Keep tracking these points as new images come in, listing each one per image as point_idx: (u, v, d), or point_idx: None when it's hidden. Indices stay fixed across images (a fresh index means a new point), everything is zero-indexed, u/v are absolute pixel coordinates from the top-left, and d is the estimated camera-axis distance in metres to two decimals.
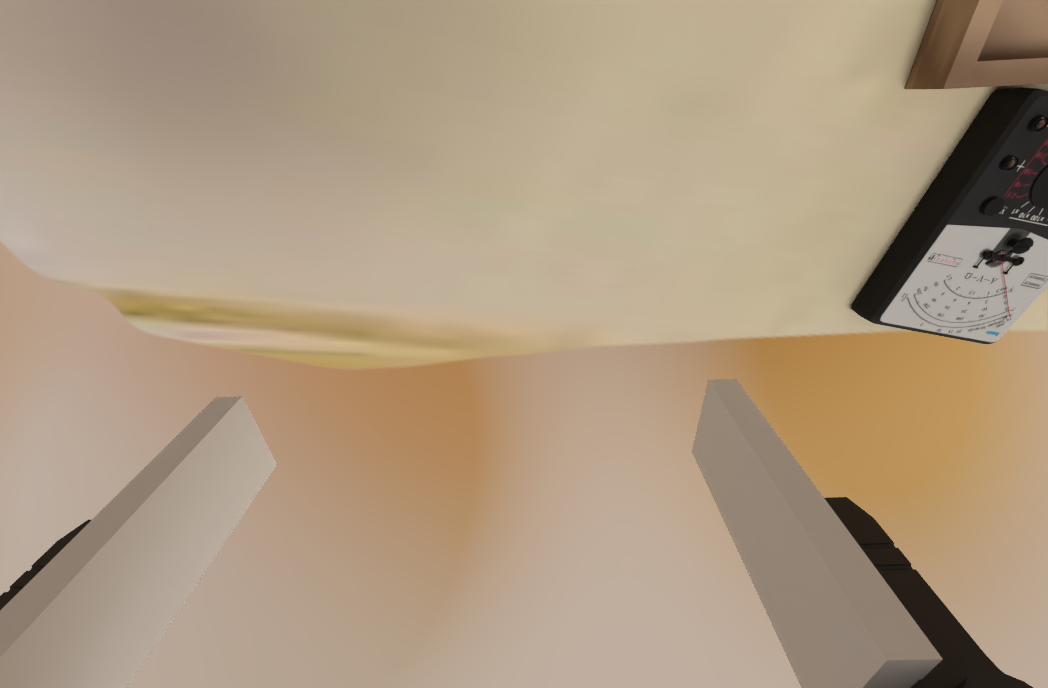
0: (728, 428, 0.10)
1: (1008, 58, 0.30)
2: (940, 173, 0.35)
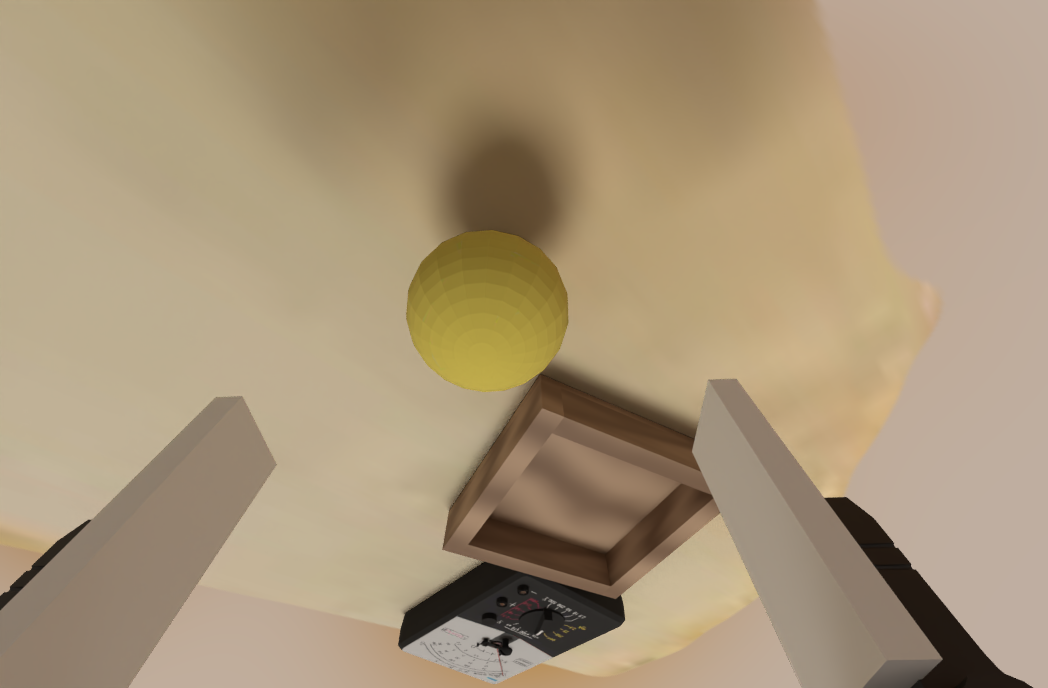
0: (728, 428, 0.10)
1: (523, 528, 0.35)
2: (480, 566, 0.39)
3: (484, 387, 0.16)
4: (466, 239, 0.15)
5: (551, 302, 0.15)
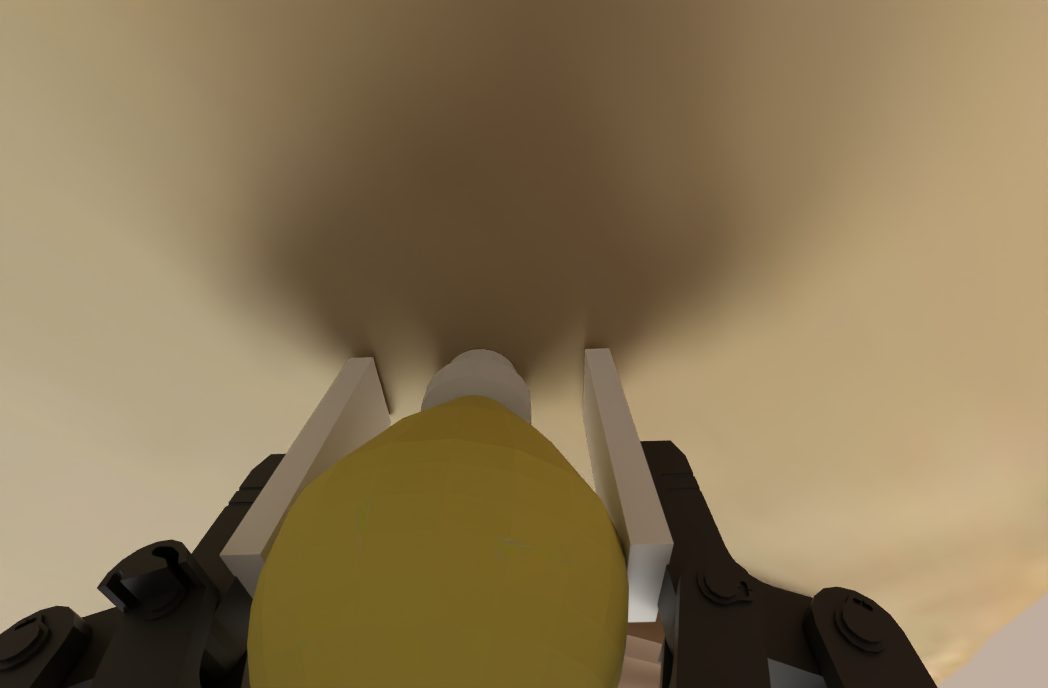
0: (591, 388, 0.12)
1: None
2: None
3: None
4: (384, 486, 0.06)
5: (601, 656, 0.06)
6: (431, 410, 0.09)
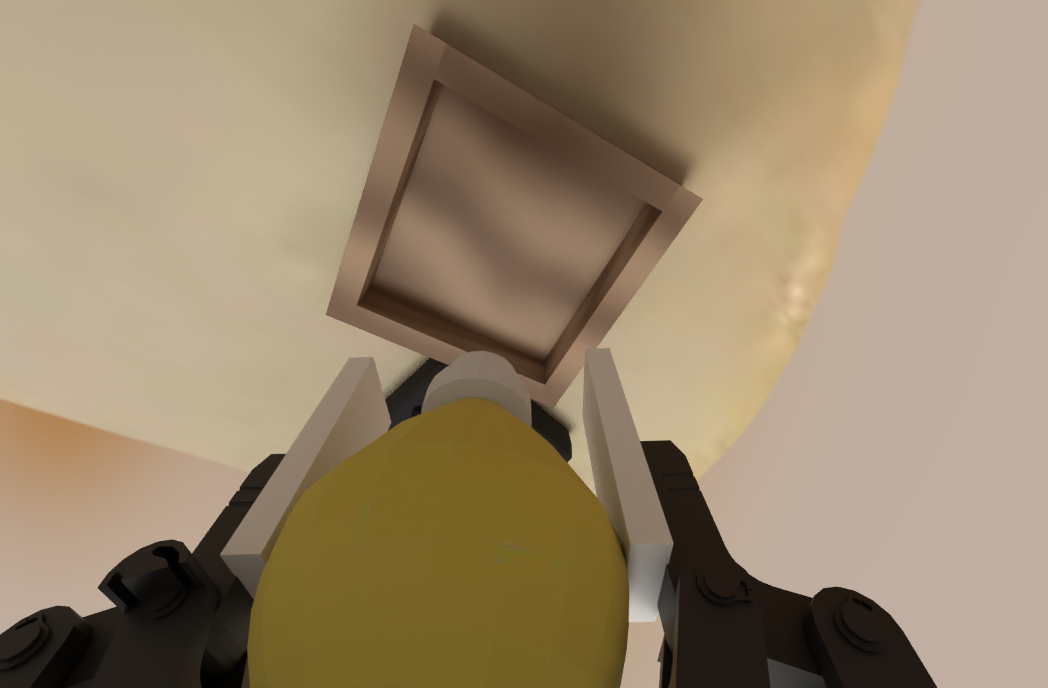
0: (591, 388, 0.12)
1: (438, 314, 0.29)
2: (400, 386, 0.32)
3: None
4: (384, 490, 0.06)
5: (601, 660, 0.06)
6: (431, 413, 0.09)
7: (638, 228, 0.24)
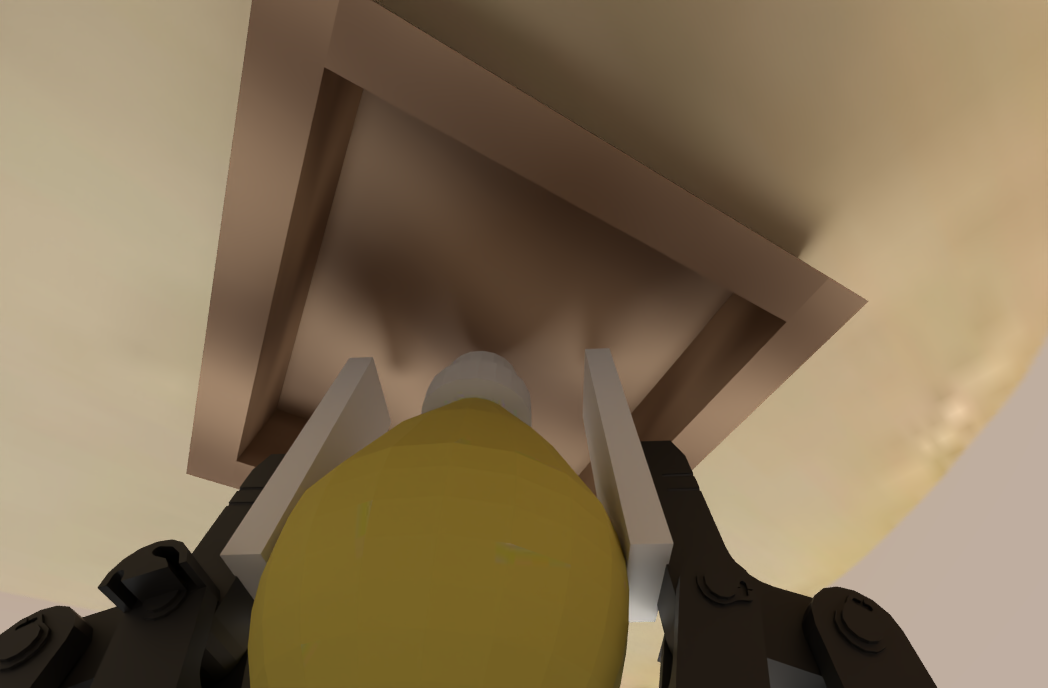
0: (591, 388, 0.12)
1: None
2: None
3: None
4: (384, 490, 0.06)
5: (601, 660, 0.06)
6: (431, 413, 0.09)
7: (725, 335, 0.14)
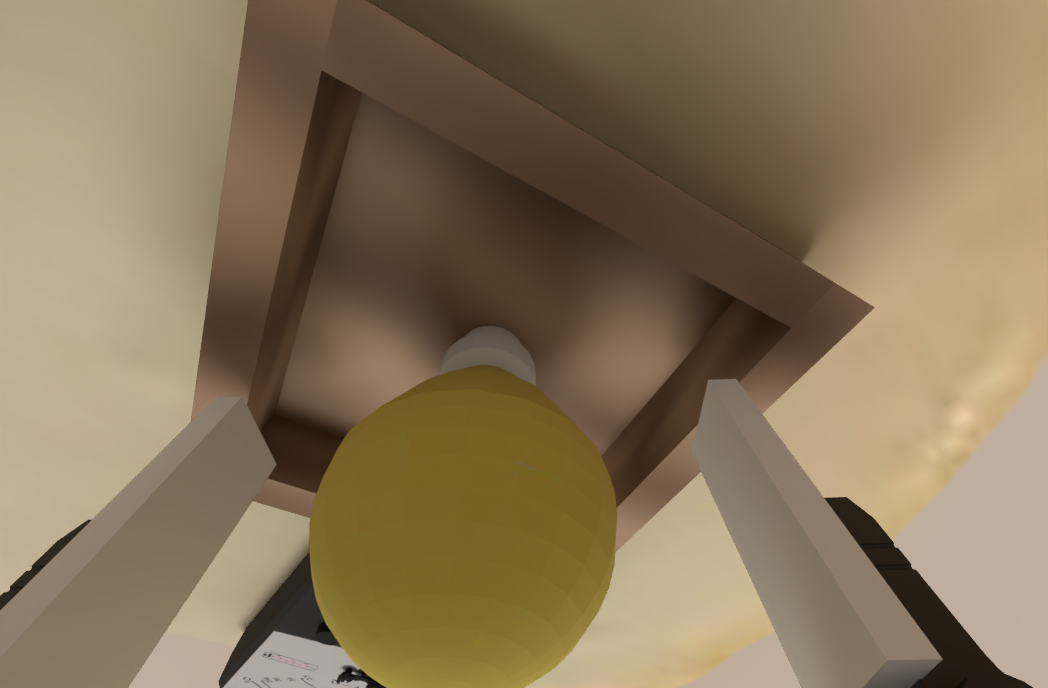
0: (728, 428, 0.10)
1: None
2: None
3: None
4: (420, 422, 0.08)
5: (592, 558, 0.07)
6: (451, 372, 0.10)
7: (729, 340, 0.14)
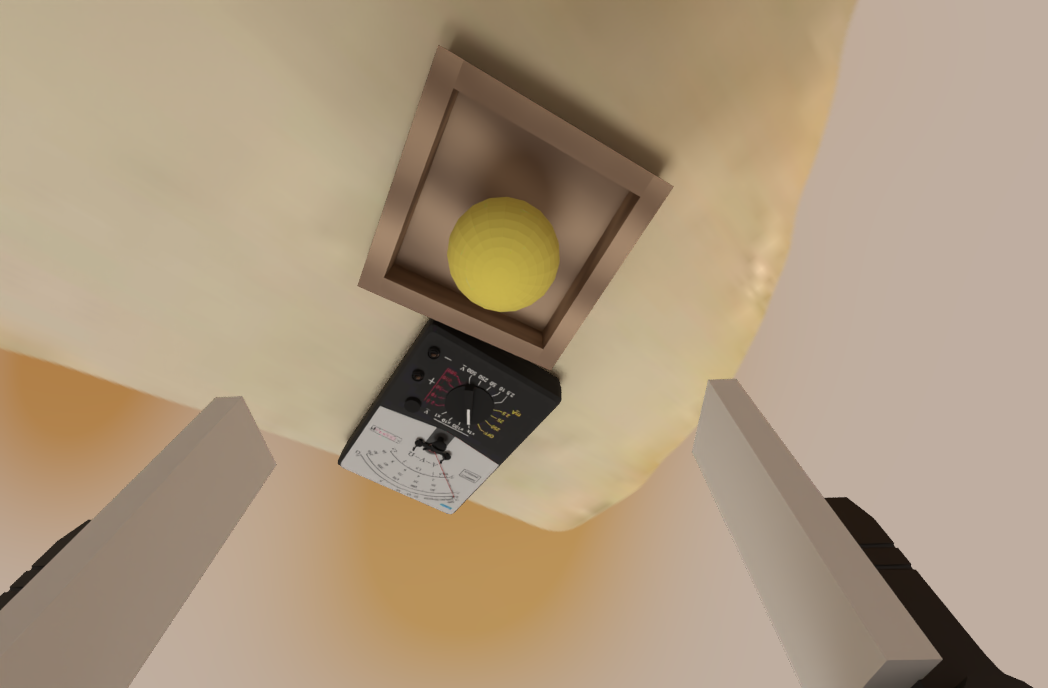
0: (728, 428, 0.10)
1: (451, 288, 0.33)
2: None
3: (500, 303, 0.23)
4: (490, 201, 0.23)
5: (547, 244, 0.23)
6: None
7: (621, 212, 0.29)
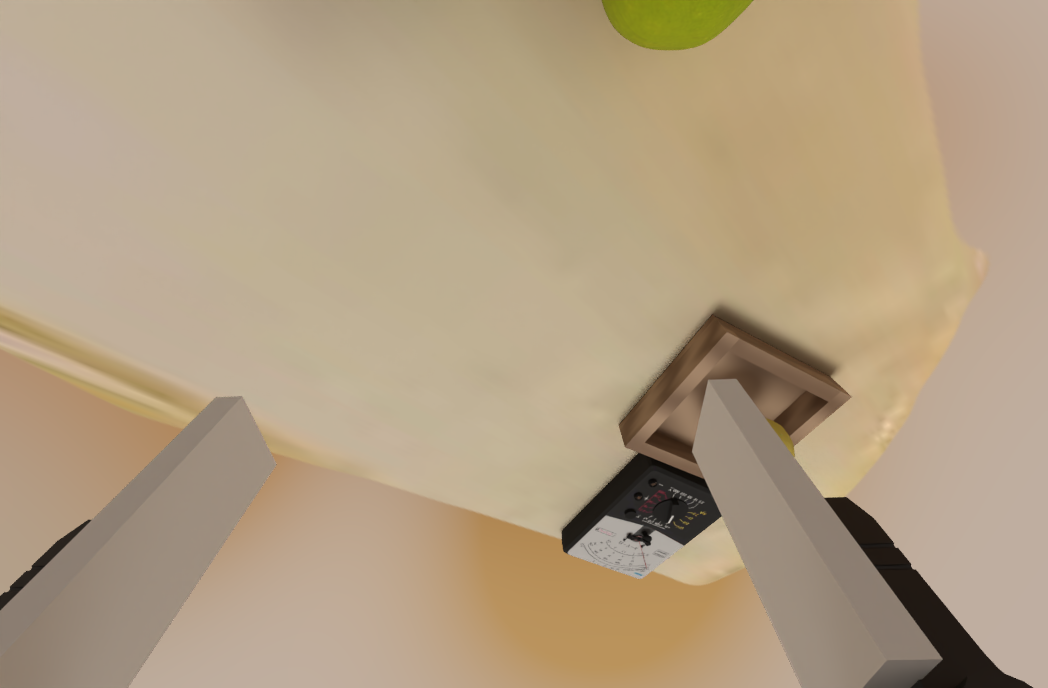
0: (728, 428, 0.10)
1: (672, 438, 0.48)
2: (615, 478, 0.52)
3: None
4: None
5: (793, 453, 0.37)
6: None
7: (807, 402, 0.44)
